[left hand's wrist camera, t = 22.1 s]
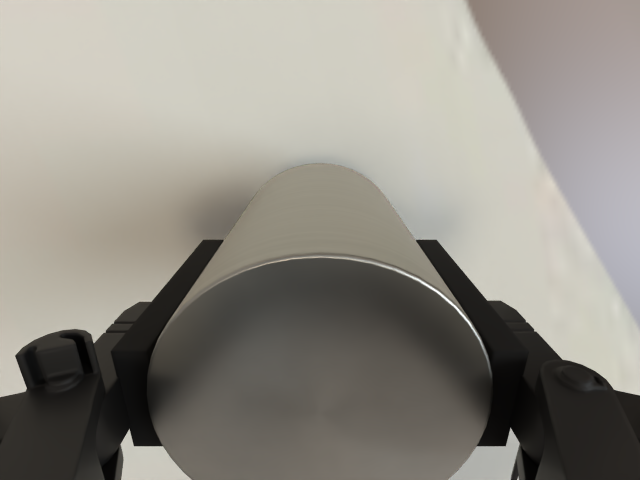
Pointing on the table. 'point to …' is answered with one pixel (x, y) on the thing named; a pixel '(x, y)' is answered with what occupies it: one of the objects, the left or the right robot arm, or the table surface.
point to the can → (319, 347)
